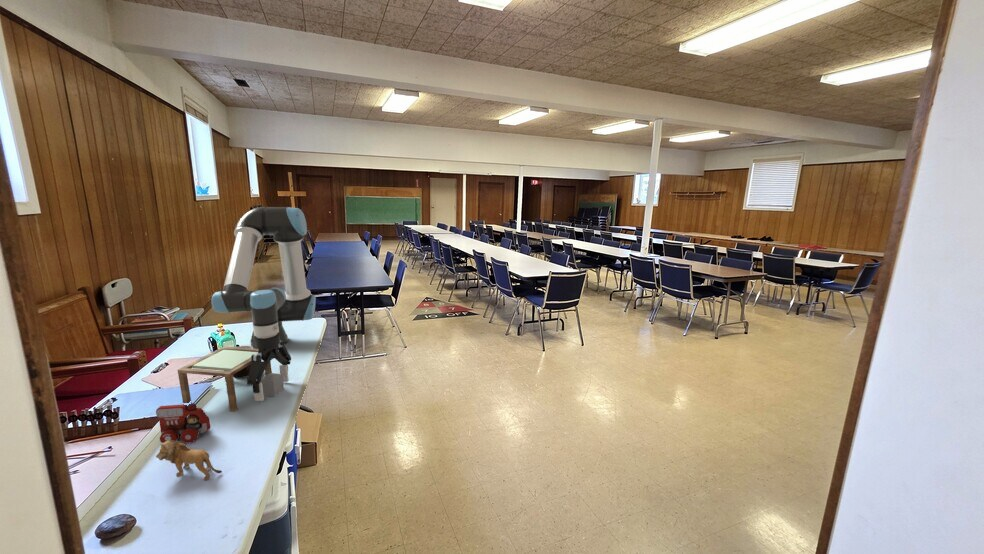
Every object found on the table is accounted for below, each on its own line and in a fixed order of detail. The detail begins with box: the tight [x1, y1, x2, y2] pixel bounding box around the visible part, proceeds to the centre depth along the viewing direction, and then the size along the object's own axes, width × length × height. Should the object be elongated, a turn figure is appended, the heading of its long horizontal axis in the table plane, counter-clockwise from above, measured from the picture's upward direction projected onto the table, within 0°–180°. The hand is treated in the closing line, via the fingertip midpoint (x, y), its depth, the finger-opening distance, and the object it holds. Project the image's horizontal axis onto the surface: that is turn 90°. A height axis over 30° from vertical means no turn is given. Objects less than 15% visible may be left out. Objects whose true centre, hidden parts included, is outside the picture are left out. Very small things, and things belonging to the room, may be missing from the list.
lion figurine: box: [155, 440, 223, 481], centre depth 96 cm, size 15×5×9 cm, turn 90°
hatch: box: [192, 350, 258, 371], centre depth 131 cm, size 13×14×1 cm
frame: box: [177, 346, 273, 413], centre depth 132 cm, size 19×18×14 cm
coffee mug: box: [233, 345, 254, 379], centre depth 149 cm, size 12×9×10 cm
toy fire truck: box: [155, 402, 211, 444], centre depth 110 cm, size 7×12×10 cm, turn 102°
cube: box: [260, 372, 285, 397], centre depth 135 cm, size 5×5×6 cm
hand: (272, 390), depth 136 cm, fingers open, 13 cm apart
